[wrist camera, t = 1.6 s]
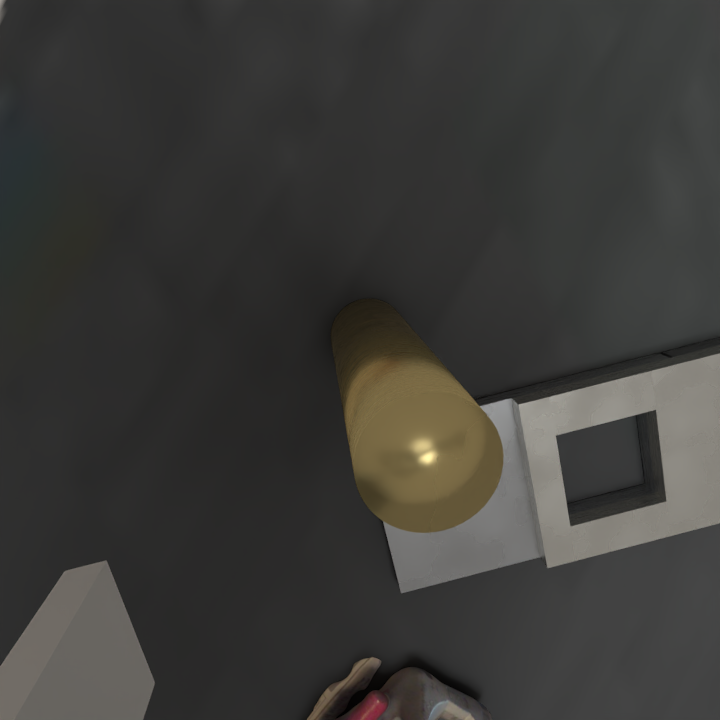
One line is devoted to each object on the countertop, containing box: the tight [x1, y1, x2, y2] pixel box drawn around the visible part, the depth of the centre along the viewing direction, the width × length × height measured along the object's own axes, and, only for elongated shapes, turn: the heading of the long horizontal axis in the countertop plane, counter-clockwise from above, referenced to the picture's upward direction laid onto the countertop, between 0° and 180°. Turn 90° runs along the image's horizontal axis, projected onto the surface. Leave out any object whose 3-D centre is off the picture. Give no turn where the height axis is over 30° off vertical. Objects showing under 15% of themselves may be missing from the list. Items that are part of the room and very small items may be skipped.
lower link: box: [383, 353, 669, 593], centre depth 31 cm, size 16×9×1 cm, turn 103°
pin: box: [331, 299, 504, 533], centre depth 21 cm, size 4×4×15 cm
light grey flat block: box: [512, 338, 720, 568], centre depth 30 cm, size 16×9×2 cm, turn 104°
